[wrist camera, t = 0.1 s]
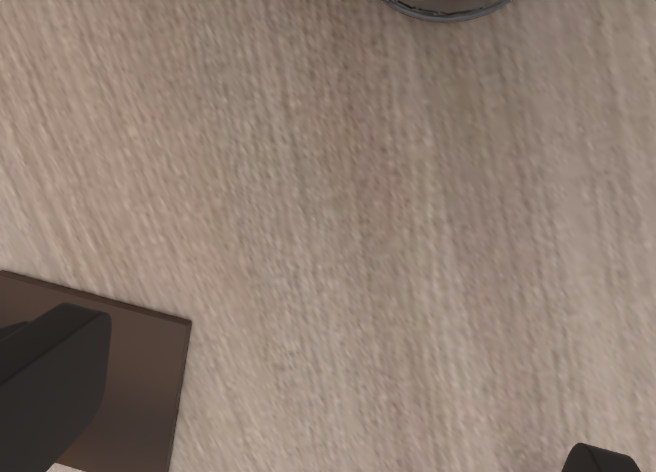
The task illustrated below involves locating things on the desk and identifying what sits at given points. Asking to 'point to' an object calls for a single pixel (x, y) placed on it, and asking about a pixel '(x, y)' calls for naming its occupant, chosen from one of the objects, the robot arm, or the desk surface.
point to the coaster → (117, 377)
